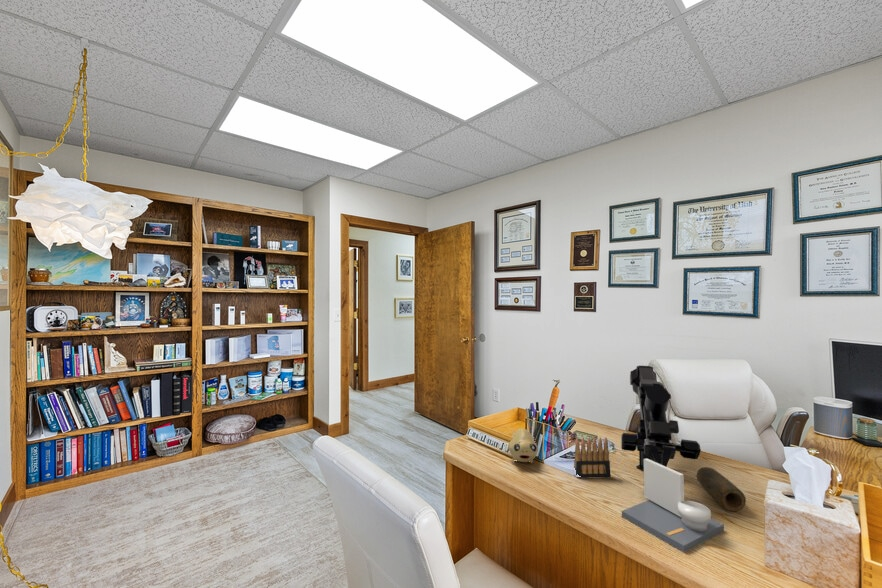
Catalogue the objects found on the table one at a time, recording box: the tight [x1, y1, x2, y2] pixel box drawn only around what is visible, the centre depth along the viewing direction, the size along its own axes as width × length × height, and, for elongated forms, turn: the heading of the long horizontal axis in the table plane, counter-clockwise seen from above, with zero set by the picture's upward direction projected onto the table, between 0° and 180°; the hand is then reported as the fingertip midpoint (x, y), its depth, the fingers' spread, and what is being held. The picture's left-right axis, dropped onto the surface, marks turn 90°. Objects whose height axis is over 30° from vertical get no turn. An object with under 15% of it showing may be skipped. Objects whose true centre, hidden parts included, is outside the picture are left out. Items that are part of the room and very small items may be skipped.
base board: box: [621, 499, 725, 553], centre depth 91 cm, size 15×16×4 cm
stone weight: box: [696, 466, 746, 512], centre depth 102 cm, size 15×7×7 cm, turn 172°
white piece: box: [643, 458, 712, 523], centre depth 92 cm, size 16×6×10 cm, turn 22°
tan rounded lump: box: [507, 428, 539, 463], centre depth 126 cm, size 10×12×11 cm
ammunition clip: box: [573, 436, 612, 478], centre depth 115 cm, size 11×2×12 cm, turn 90°
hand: (662, 476), depth 98 cm, fingers closed
